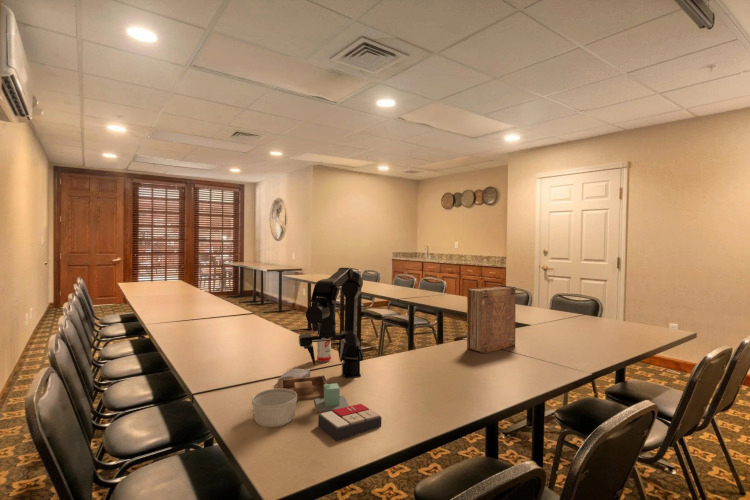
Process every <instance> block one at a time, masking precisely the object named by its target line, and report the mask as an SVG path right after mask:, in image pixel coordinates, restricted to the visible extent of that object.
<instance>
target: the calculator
mask: <svg viewBox="0 0 750 500" xmlns="http://www.w3.org/2000/svg"><path fill="white" fill-rule="evenodd" d="M317 418H318V421H317V427H318V428H319V429H321V431H322V432H323V433H325V434H327V435H328V437H330V438H331V439H332V440H334V441H335V442H340V441H343V440H345V439H349V438H351V437H352V436H356V435H359V434H363V433H366V432H368V431H372V430H375V429H377V428H378V429H379V428H381V427H382V416H380V414H379V413H377V412H375V411H374V410H372V409H370V408H369V407H367V406H366V405H365V404H362V403H357V404H353V405H350V406H348V407H344V408H340V409H335V410H333V411H326V412H320V414H318V416H317Z"/></svg>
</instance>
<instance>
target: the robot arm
mask: <svg viewBox="0 0 750 500" xmlns="http://www.w3.org/2000/svg"><path fill="white" fill-rule="evenodd" d="M363 284H364V281H363V278H362V276H361V274H360V273H358V272H356V271H354V270H353V268H351V267H340V268H338V270H337V271H336V272H335V273H333V274H332V275H331V276H330V277H328V278H322V279H320V280H317V281H316V283H315V284H314V287H313V290H312V293H311V294H312V295H311V296H310V297H311V298H310V303H311V306H310V307H308V308H307V310H306V312H305V318H306V320H307V322H308V323H309V324H311V331H312V332H315V333H316V335H314V336H312V334H311V333H301V334H300V335H298V344H299V347H303V349H305V350H306V349H307V351H308V353H309V355H310V359H311V361H312V365H313V366H315V365H316V357H315V350H314V349H315V348H314V346H313V343H317V342H321V341H331V342H332V341H338V344H339V345H338V350H337V351H338V358H339V362H340V363H341V374H342V375H343V377H344V378H346V379H347V378H357V377H358V378H359V377H360V378H361V377H362V374H361V363H360V362H364V351H363V349H362V347H361V340H360V339H359V337H358V336H357V317H358V316H357V315H358V314H357V313H358V309H357V308H358V298H359V296H360V294H361V292H362V288H363V286H364V285H363ZM340 288H341V293H342V294H343V296H344V325H343V326H344V329H343V330H342V331H341V334H338V333H337V330H336V329H337V328H336V303H337V298H338V296H339V293H340ZM336 333H337V334H336ZM317 334H318V335H319V336H317ZM321 338H324V339H321Z"/></svg>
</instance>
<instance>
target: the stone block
mask: <svg viewBox="0 0 750 500" xmlns="http://www.w3.org/2000/svg"><path fill="white" fill-rule="evenodd" d="M303 377H311V370H310V369H306V368H305V369H303V368H295V369H294V368H293V369H289V370H287V371H286V372H284V373H282V375H281V376H280V377H279V378H278V379H277V383H278V385H279V386H280V380H281V379H292V378H303Z"/></svg>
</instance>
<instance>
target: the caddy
mask: <svg viewBox="0 0 750 500" xmlns="http://www.w3.org/2000/svg"><path fill="white" fill-rule="evenodd" d="M325 384H328V381H327V380H326V377H325V375H316V376H315V375H314V376H310V377H303V378H292V379H281V380H280V385H279V388H284V389H290V390H293V391H295V392H296V393H297V401H296V402H298V401H306V400H307V401H308V400H315V399H317V398H324V385H325Z"/></svg>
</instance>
